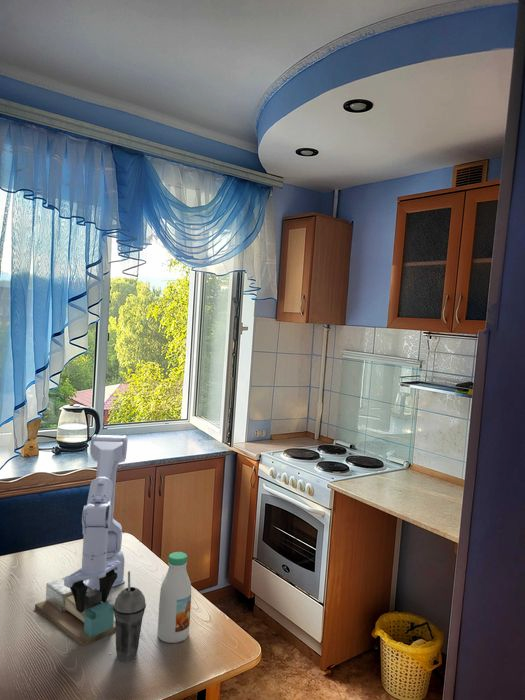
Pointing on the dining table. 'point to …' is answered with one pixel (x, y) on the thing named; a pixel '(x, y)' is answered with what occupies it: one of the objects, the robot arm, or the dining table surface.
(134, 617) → the beverage cup
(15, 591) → the dining table surface
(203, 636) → the dining table surface
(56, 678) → the dining table surface
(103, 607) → the socket
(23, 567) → the dining table surface
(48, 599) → the sleeve
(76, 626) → the base board
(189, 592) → the milk bottle
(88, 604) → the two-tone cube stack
